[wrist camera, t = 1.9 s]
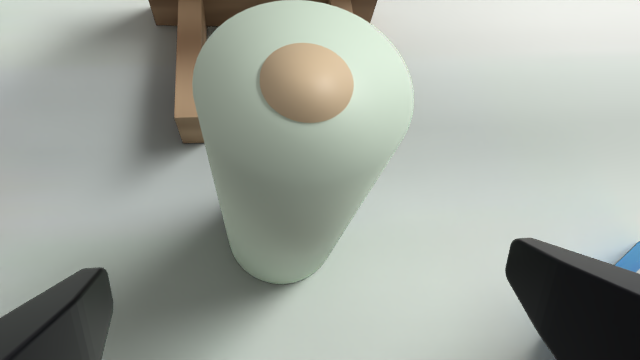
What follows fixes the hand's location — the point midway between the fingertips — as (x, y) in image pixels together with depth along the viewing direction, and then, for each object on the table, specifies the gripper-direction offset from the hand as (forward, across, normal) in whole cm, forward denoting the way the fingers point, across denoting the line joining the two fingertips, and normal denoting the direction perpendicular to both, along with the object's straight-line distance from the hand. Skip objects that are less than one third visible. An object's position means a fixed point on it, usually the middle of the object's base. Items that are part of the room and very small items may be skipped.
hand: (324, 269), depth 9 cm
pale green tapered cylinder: (+11, 0, +5) cm, 12 cm away
